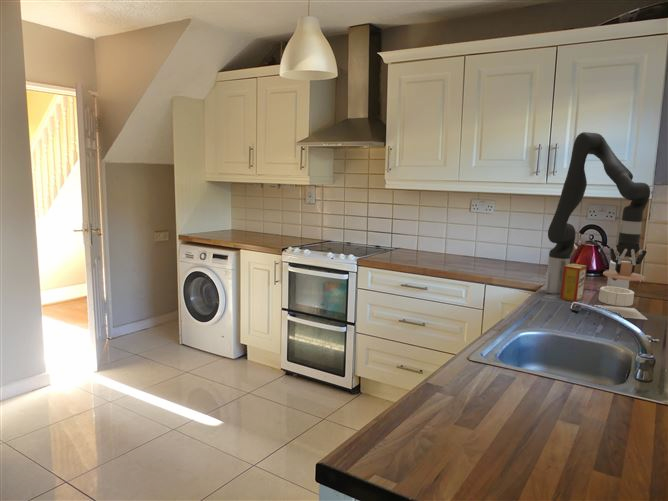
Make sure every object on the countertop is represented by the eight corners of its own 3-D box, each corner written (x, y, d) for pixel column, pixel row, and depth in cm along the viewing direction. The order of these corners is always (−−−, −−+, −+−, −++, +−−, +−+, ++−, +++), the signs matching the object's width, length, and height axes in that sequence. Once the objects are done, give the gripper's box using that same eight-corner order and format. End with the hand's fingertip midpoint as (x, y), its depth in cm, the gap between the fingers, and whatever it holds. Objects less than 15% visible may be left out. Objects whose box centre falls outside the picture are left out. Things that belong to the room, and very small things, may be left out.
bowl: (603, 305, 218) (605, 292, 217) (595, 298, 231) (597, 285, 230) (636, 308, 216) (638, 295, 214) (626, 300, 228) (628, 287, 227)
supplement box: (606, 292, 242) (610, 262, 239) (606, 288, 250) (610, 259, 247) (627, 295, 238) (632, 264, 235) (627, 291, 245) (631, 261, 243)
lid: (608, 278, 200) (610, 264, 199) (599, 271, 215) (600, 257, 214) (650, 282, 197) (652, 267, 196) (637, 274, 211) (639, 260, 210)
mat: (603, 316, 202) (604, 315, 202) (593, 306, 217) (593, 304, 217) (647, 321, 198) (648, 319, 198) (634, 309, 213) (634, 308, 213)
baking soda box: (575, 302, 222) (579, 267, 219) (560, 299, 226) (564, 265, 223) (582, 299, 228) (587, 264, 226) (568, 296, 233) (572, 262, 230)
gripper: (613, 232, 200) (607, 273, 204) (653, 234, 197) (646, 276, 200) (608, 229, 208) (602, 269, 211) (646, 231, 204) (640, 272, 207)
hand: (624, 273), depth 205 cm, fingers closed on lid, 4 cm apart
